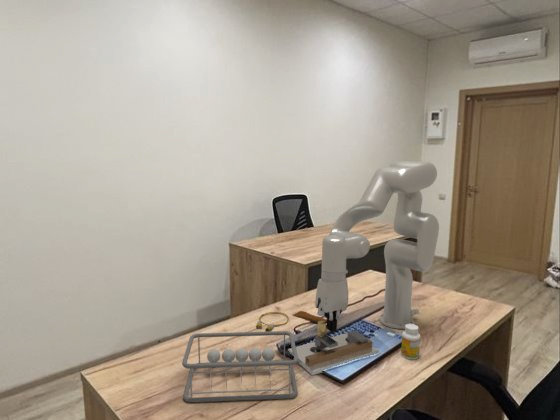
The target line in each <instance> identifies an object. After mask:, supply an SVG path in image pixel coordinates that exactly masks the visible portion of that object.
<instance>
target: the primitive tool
mask: <svg viewBox="0 0 560 420" xmlns="http://www.w3.org/2000/svg"><path fill="white" fill-rule="evenodd" d="M292 316H293V317H296V318H299V319H302V320H305V321H309V322H311V323H315V324H317V323H318V321H326V323H327V318H322V317H321V316H316V315H313V314H311V313H309V312H307V311H303V310H299V311H298V312H296V313H293V314H292Z"/></svg>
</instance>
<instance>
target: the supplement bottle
mask: <svg viewBox="0 0 560 420" xmlns="http://www.w3.org/2000/svg"><path fill="white" fill-rule="evenodd" d="M420 344H421V335H420V333H419V326H418V325H416V324H415V323H414V324H406V325H405V329H404V331H403V332H402V334H401V350H400V354H401V356H402V357H403V358H404V359H408V360H417V359H419V356H420V348H421V346H420Z"/></svg>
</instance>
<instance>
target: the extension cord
mask: <svg viewBox="0 0 560 420" xmlns="http://www.w3.org/2000/svg"><path fill="white" fill-rule="evenodd" d="M268 315H282V316H284V317H286V318H287V321H285V322H284V323H279V324H273V323H272V324H268V323H265V322H263V321H262V320H261V318H262V317H264V316H268ZM289 319H290V318H289V316H288V315H287V313H285V312H280V311H270V312H266V313H263V314H261V315H260V316H259V318H258V321H257V322H256V323H257V324H256V326H255V328H256V329H257V330H258V329H259V330H261V329H263V325H265V326H266V328H265V331H264V332H270V331H272V330H273V329H274V327H276V328H277V327H280V326H284V325H286V324H287V323H288V322H289ZM262 324H263V325H262Z"/></svg>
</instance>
